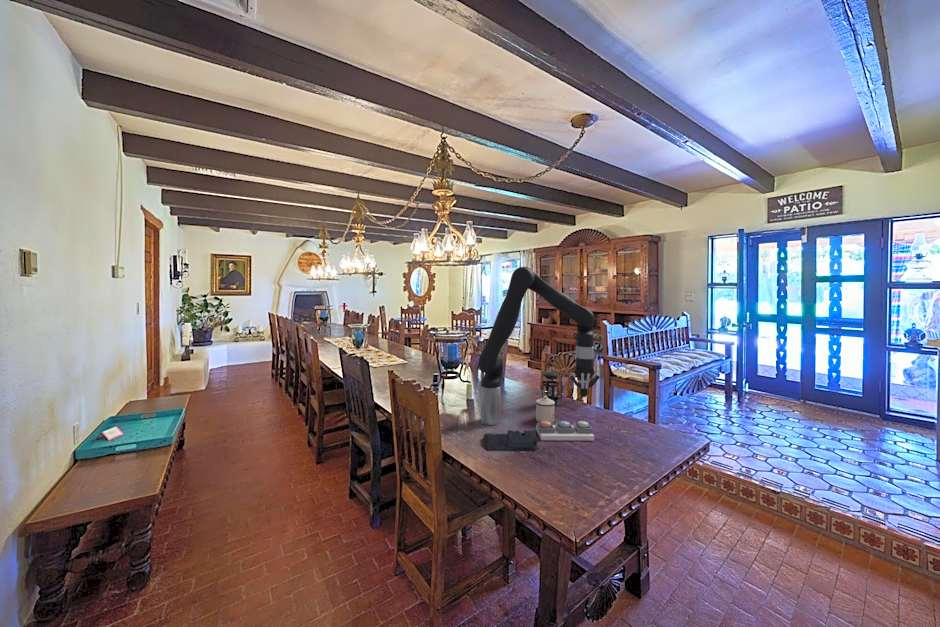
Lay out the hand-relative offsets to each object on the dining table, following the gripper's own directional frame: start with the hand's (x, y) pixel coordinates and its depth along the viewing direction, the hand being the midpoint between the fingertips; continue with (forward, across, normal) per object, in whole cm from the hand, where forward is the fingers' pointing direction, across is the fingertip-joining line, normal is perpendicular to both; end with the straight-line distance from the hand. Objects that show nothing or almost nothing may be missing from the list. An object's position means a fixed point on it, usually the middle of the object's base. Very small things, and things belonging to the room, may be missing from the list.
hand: (583, 396), depth 160 cm
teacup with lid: (+17, -13, +19) cm, 29 cm away
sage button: (+14, 0, 0) cm, 14 cm away
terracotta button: (+13, -16, 0) cm, 21 cm away
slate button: (+13, -8, 0) cm, 16 cm away
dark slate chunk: (+18, -32, -9) cm, 38 cm away
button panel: (+17, -8, 0) cm, 19 cm away
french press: (+17, -5, +42) cm, 46 cm away
